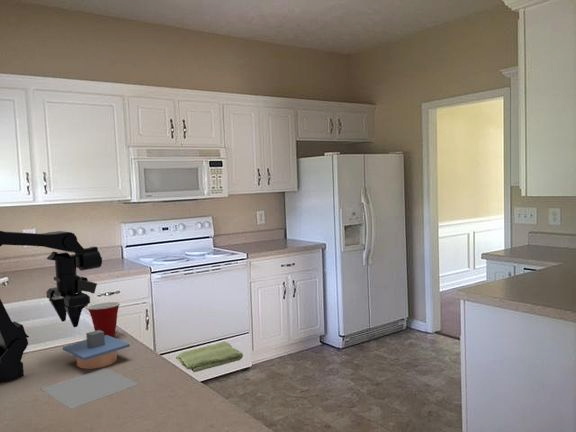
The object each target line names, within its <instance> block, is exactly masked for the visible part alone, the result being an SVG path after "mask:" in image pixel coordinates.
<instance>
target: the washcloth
mask: <svg viewBox="0 0 576 432" xmlns="http://www.w3.org/2000/svg"><path fill="white" fill-rule="evenodd" d="M243 357H244V354H243V352H241V351H240V350H238V349H237V348H234V347H233V345H231V344H230V343H229V342H226V341H220V342H217V343H216V344H209V345H206V346H203V347H199V348H194V349H190V350H187V351H186V350H185V351H183V352H181V353H179V354H178V355H177V356H176V357H175V359H177V361H178V362H179V364H181V365H182V366H183V368H185V369H186V370H190V371H192V372H193V373H197V372H201V371H205V370H208V369H212V368H216V367H219V366H223V365H227V364H230V363H234V362H239V361H241V360H242V359H243Z"/></svg>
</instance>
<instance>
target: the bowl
mask: <svg viewBox="0 0 576 432" xmlns="http://www.w3.org/2000/svg"><path fill="white" fill-rule="evenodd" d="M117 352H118V351H114V352H111V353H107V354H104V355H101V356H97V357H94V358H91V359H87V360H82V359H80V358H78V357H76V356H75V357H76V358H75V359H76V367H79V368H81V369H88V370H89V369H91V370H92V369H101V368H105V367H106V366H110V365H112V364H113V363H115V362H117V360H118V359H117V356H118V354H117Z"/></svg>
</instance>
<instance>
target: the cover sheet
mask: <svg viewBox="0 0 576 432" xmlns="http://www.w3.org/2000/svg"><path fill="white" fill-rule="evenodd" d="M130 345H131V344H130V343H129V342H125V341H123V340H120V339H118V338H116V337H114V338H113V337H111V336H108V335H105V336H104V332H103V331H101V330H97V331H95V330H94V331H93V330H92V331H90V332H86V340H83V341H81V342H77V343H73V344H69V345H66V346H62V351H64V352H66V353H69V354H70V355H73V356H74V357H78V358H80V359H82V360H87V359H91V358H94V357H97V356H101V355H104V354H107V353H111V352H114V351H116V352H118V351H120V350H123V349H126V348H130Z"/></svg>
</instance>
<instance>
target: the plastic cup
mask: <svg viewBox="0 0 576 432" xmlns="http://www.w3.org/2000/svg"><path fill="white" fill-rule="evenodd" d="M120 304H121V303H120V302H119V301H108V302H99V303H94V304H91V305H87V306H86V309H87V310H88V313H89V314H90V315H89V316H90V317H91V321H92V325H93V329H94V331H97V330H101V331H103V332H104V336H105V335H108V336H111V337H113V338H116V337H115V336H116V329H117V323H118V322H117V321H118V320H117V319H118V313H119V311H118V310H119V307H120Z"/></svg>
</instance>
